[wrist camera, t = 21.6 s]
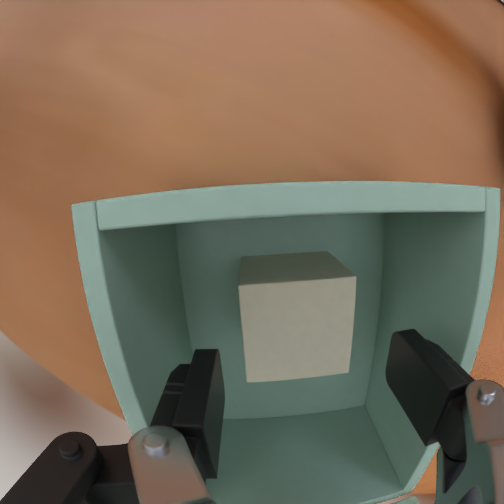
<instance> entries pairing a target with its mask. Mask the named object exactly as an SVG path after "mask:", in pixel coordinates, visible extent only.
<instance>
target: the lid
mask: <svg viewBox="0 0 504 504" xmlns="http://www.w3.org/2000/svg"><path fill="white" fill-rule="evenodd" d="M392 504H420V502H419V501H418V499H417V497H416V495H415V496H412V497H409V498H407V499H404V500H401V501H398V502H395V503H392Z"/></svg>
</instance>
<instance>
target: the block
mask: <svg viewBox="0 0 504 504" xmlns="http://www.w3.org/2000/svg"><path fill="white" fill-rule="evenodd" d="M238 292H239V304H240V315H241V327H242V338H243V349H244V360H245V370H246V381H247V383H250V382H267V381H281V380H292V379H302V378H311V377H320V376H327V375H335V374H342V373H348V372H349V367H350V358H351V349H352V338H353V327H354V314H355V298H356V276H355V275H354V274H353V273H352V272H351V271H350V270H349V269H348V268H346V267H345V266H344V265H343V264H342V263H341V262H340V261H339V260H337V259H336V258H335V257H334V256H333V255H332V254H331V253H329V252H328V251H319V252H304V253H289V254H273V255H257V256H242V257H241V265H240V274H239V282H238Z"/></svg>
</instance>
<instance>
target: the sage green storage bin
mask: <svg viewBox="0 0 504 504" xmlns="http://www.w3.org/2000/svg"><path fill="white" fill-rule="evenodd" d="M72 217H73V225H74V233H75V240H76V247H77V253H78V259H79V265H80V270H81V275H82V280H83V285H84V290H85V294H86V299H87V303H88V307H89V311H90V315H91V319H92V323H93V327H94V330H95V334H96V337H97V341H98V344H99V348H100V351H101V354H102V357H103V360H104V363H105V366H106V369H107V372H108V375H109V378H110V381H111V383H112V386H113V389H114V392H115V394H116V397H117V399H118V402H119V404H120V407H121V409H122V412H123V414H124V417H125V419H126V421H127V424H128V426H129V428H130V430H131V432H132V435H134V434H135V433H136V432H138V431H139V430H141V429H143V428H146V427H149V426H150V424H151V421H152V419H153V416H154V413H155V411H156V408H157V405H158V403H159V400H160V398H161V395H162V394H163V390H164V388H165V385H166V382H167V380H168V377H169V375H170V373H171V372H172V371H173V370H174V369H175V368H176V367H177V366H178V365H179V364H191V361H192V358H193V355H194V351H195V349H219V352H220V359H221V366H222V373H223V380H224V388H225V406H224V415H223V424H222V434H221V444H220V453H219V463H218V473H217V479H207V478H206V487H207V489H208V491H209V493H210V495H211V497H212V499H213V501H215V502H216V504H377V503H380V502H383V501H387V500H390V499H394V498H396V497H399V496H402V495H405V494H408V493H411V492H412V490H413V489H414V487H415V486H416V484H417V483H418V481H419V480H420V478H421V476H422V475H423V473H424V471H425V470H426V468H427V466H428V465H429V463H430V461H431V459H432V458H433V456H434V454H435V452H436V450H437V448H438V446H439V445H440V444H439V442H437V443H434V444H432V445H429V446H426V447H425V445H424V444H423V442H422V440H421V438H420V437H419V435H418V433H417V432H416V430H415V428H414V427H413V425H412V423H411V422H410V420H409V418H408V417H407V415H406V413H405V412H404V410H403V409H402V407H401V405H400V404H399V402H398V400H397V399H396V397H395V396H394V394H393V392H392V391H391V389H390V388H389V386H388V384H387V381H386V376H385V369H386V364H387V358H388V353H389V347H390V341H391V336H392V334H393V333H394V332H396V331H402V330H407V329H415V330H416V331H418V332H419V333H420V334H421V335H422V336H423V337H424V338H425V339H428V340H430V341H432V342H434V343H436V344H438V345H439V346H440V347H441V348H442V349H444V350H445V351H446V352H447V354H449V355H450V356H451V357H452V358H453V361H454V360H455V361H456V362H457V363H458V364H459V365H460V366H461V367H462V368H463V369H464V370H465V371H466V372H467V373H468V374H469V375H470V372H471V369H472V366H473V363H474V360H475V357H476V354H477V350H478V347H479V343H480V340H481V336H482V332H483V328H484V324H485V320H486V316H487V311H488V307H489V302H490V297H491V291H492V286H493V279H494V273H495V266H496V258H497V248H498V237H499V221H500V189H499V188H495V187H485V186H474V185H461V184H446V183H427V182H402V181H305V182H278V183H258V184H242V185H228V186H215V187H203V188H192V189H182V190H172V191H163V192H154V193H146V194H138V195H130V196H122V197H115V198H108V199H102V200H95V201H89V202H83V203H76V204H73V205H72ZM319 251H328V252H329V253H331V254H332V255H333V256H334V257H335V258H336V259H337V260H339V261H340V262H341V263H342V264H343V265H344V266H345V267H346V268H348V269H349V270H350V271H351V272H352V273H353V274H354V275H355V276H356V298H355V314H354V327H353V338H352V349H351V358H350V367H349V372H348V373H342V374H335V375H327V376H320V377H311V378H302V379H292V380H281V381H267V382H250V383H247V381H246V370H245V360H244V349H243V338H242V327H241V315H240V304H239V292H238V282H239V274H240V265H241V257H242V256H257V255H273V254H289V253H304V252H319Z"/></svg>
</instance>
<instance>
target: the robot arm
mask: <svg viewBox="0 0 504 504" xmlns="http://www.w3.org/2000/svg"><path fill="white" fill-rule="evenodd" d="M385 376H386V381H387V384H388V386H389V388H390V389H391V391H392V392H393V394H394V396H395V397H396V399H397V400H398V402H399V404H400V405H401V407H402V409H403V410H404V412H405V413H406V415H407V417H408V418H409V420H410V422H411V423H412V425H413V427H414V428H415V430H416V432H417V433H418V435H419V437H420V438H421V440H422V442H423V444H424V445H425V447H426V446H429V445H432V444H434V443H437V442H439V444H440V445H441V446H440V448H439V450H438V452H437V481H436V499H435V503H434V504H504V388H503V387H502V386H501V385H500V384H498V383H496V382H494V381H491V380H486V379H481V380H476V381H475V380H474V379H473V378H472V377H471V376H470V375H469V374H468V373H467V372H466V371H465V370H464V369H463V368H462V367H461V366H460V365H459V364H458V363H457V362H456V361H455V360H454V361H453V358H452V357H451V356H450V355H449V354H447V352H446V351H445V350H444V349H442V348H441V347H440V346H439V345H438V344H436V343H434V342H432V341H430V340H428V339H425V338H424V337H423V336H422V335H421V334H420V333H419V332H418V331H416V330H415V329H407V330H402V331H396V332H394V333H393V334H392V336H391V341H390V347H389V353H388V358H387V364H386V369H385ZM224 406H225V388H224V380H223V373H222V366H221V359H220V352H219V349H195V351H194V355H193V358H192V361H191V364H179V365H178V366H177V367H176V368H175V369H174V370H173V371H172V372H171V373H170V375H169V377H168V380H167V382H166V385H165V388H164V390H163V394H162V395H161V398H160V400H159V403H158V405H157V408H156V411H155V413H154V416H153V419H152V421H151V424H150V426H149V427H146V428H143V429H141V430H139V431H138V432H136V433H135V434H134V435H133V436H132V437H131V439H130V440H129V443H127V444H122V445H110V446H97V445H96V443H95V442H94V440H93V439H92V438H91V437H90V436H89V435H87V434H84V433H81V432H68V433H65V434H62V435H60V436H58V437H57V438H55V439H54V440H53V441H52V442H51V443H50V444H49V446H48V447H47V448H46V449H45V450H44V451H43V452H42V453H41V455H40V456H39V457H38V458H37V459H36V460H35V462H34V463H33V464H32V465H31V466H30V467H29V468H28V469H27V470H26V472H25V473H24V474H23V475H22V476H21V477H20V479H19V480H18V481H17V482H16V483H15V484H14V485H13V487H12V488H11V489H10V490H9V491H8V493H7V494H6V495H5V496H4V497H3V498H2V500H1V501H0V504H216V502H215V501H213V499H212V497H211V495H210V493H209V491H208V489H207V487H206V478H207V479H217V473H218V463H219V453H220V444H221V434H222V424H223V415H224Z"/></svg>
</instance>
